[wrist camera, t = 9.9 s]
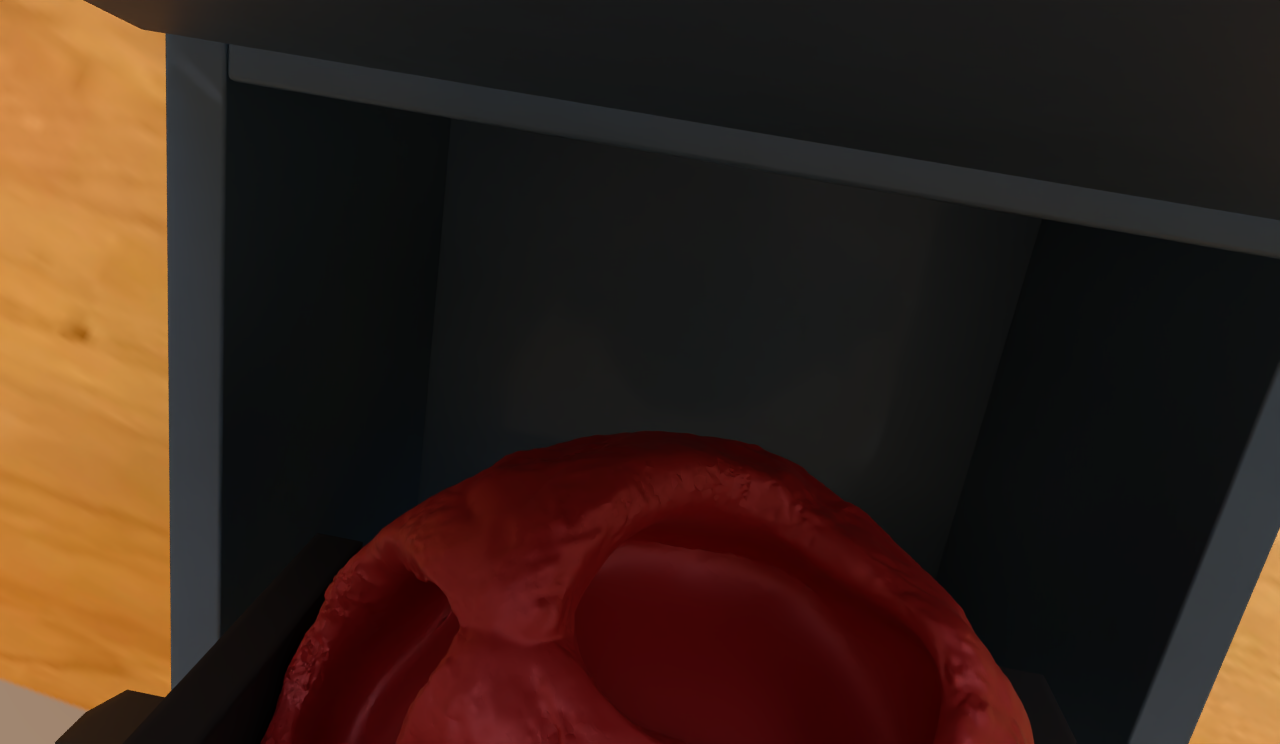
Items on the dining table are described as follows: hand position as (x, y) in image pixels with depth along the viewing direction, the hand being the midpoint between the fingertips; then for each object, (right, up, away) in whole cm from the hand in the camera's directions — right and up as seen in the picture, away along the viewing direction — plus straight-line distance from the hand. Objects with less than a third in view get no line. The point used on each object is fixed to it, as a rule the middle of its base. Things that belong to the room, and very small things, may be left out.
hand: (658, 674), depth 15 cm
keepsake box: (+1, +5, +11) cm, 12 cm away
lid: (+1, +7, -11) cm, 13 cm away
